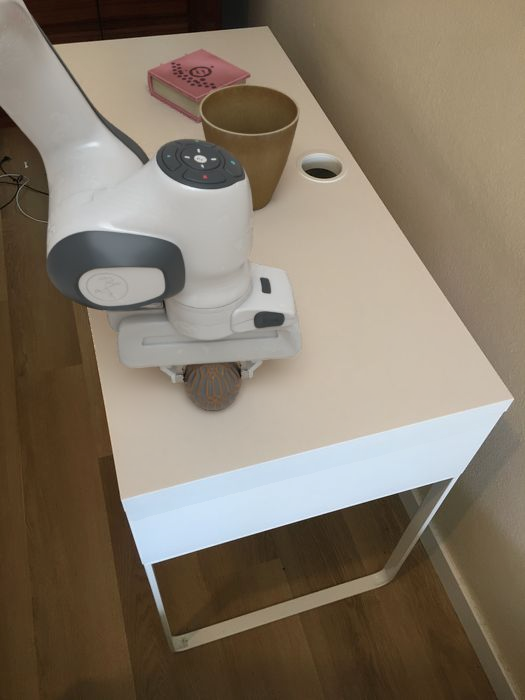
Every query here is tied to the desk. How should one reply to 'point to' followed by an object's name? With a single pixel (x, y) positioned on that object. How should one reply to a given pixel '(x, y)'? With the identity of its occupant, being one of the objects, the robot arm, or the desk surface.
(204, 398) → the vase
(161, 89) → the book
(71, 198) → the robot arm
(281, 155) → the plant pot
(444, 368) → the desk surface
